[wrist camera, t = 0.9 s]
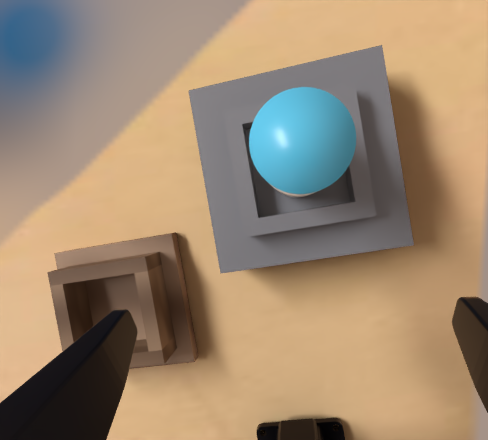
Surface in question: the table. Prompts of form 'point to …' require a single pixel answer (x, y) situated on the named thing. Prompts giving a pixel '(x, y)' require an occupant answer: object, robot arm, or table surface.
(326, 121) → the plug
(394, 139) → the upper dock
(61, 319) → the low dock
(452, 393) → the table surface
